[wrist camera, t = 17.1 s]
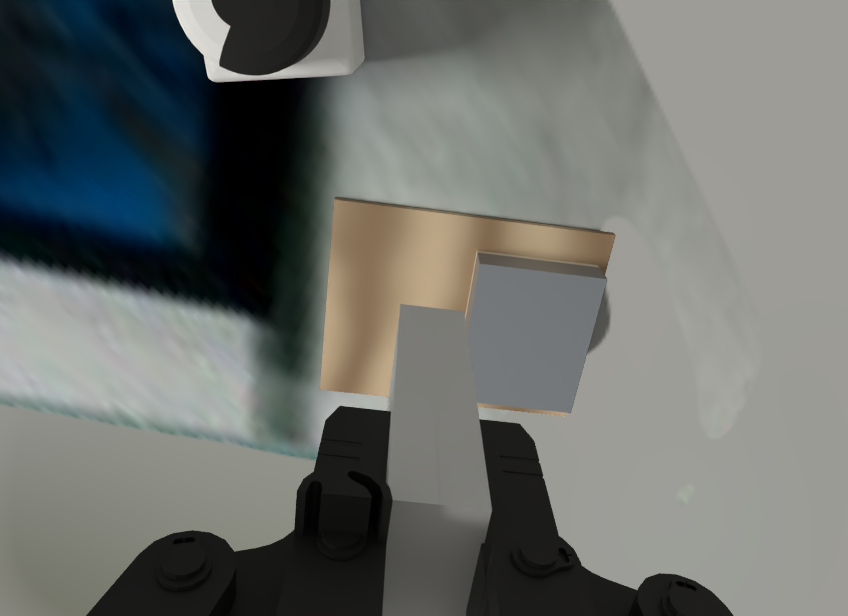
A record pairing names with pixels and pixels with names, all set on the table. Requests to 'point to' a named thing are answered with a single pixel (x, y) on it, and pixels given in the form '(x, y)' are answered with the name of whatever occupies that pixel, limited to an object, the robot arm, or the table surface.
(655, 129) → the table surface
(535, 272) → the tile
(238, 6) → the medicine bottle
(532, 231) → the mat
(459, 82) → the table surface
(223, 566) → the robot arm
